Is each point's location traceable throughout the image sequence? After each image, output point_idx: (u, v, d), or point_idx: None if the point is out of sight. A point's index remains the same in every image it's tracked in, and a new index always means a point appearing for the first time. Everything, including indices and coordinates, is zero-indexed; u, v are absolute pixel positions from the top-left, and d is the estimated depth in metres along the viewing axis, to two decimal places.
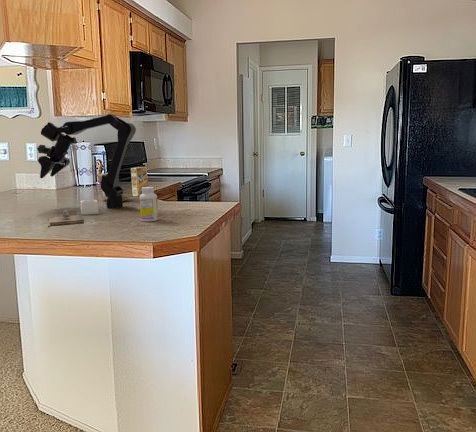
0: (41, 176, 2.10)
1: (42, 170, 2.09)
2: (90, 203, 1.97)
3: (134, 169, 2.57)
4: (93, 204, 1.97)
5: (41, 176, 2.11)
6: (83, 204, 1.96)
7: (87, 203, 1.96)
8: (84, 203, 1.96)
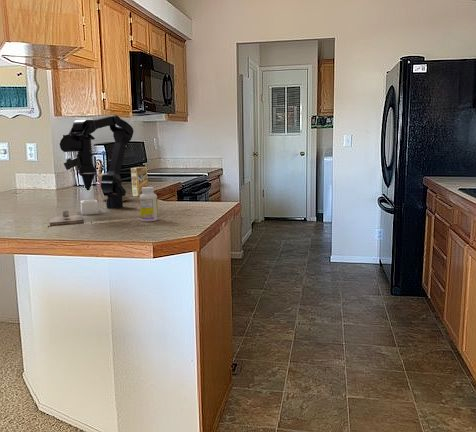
0: (88, 188, 1.94)
1: (86, 181, 1.92)
2: (90, 203, 1.97)
3: (134, 169, 2.57)
4: (93, 204, 1.97)
5: (88, 188, 1.94)
6: (83, 204, 1.96)
7: (87, 203, 1.96)
8: (84, 203, 1.96)
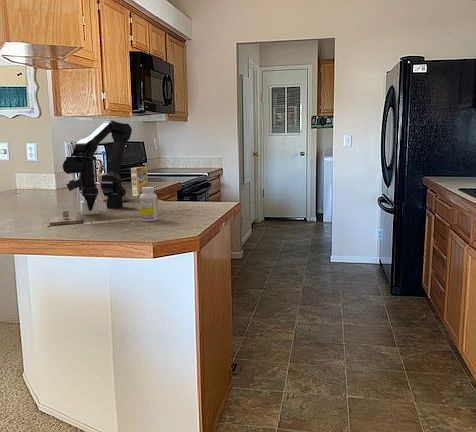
0: (90, 208, 1.96)
1: (88, 201, 1.95)
2: None
3: (134, 169, 2.57)
4: None
5: (90, 208, 1.96)
6: (83, 204, 1.96)
7: None
8: (84, 203, 1.96)
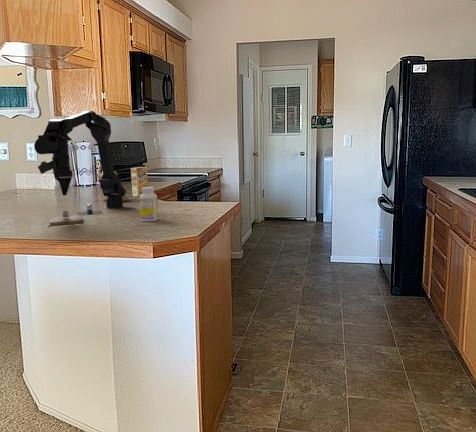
0: (64, 193, 1.79)
1: (62, 185, 1.78)
2: None
3: (134, 169, 2.57)
4: None
5: (64, 193, 1.80)
6: (56, 188, 1.79)
7: None
8: (57, 187, 1.79)
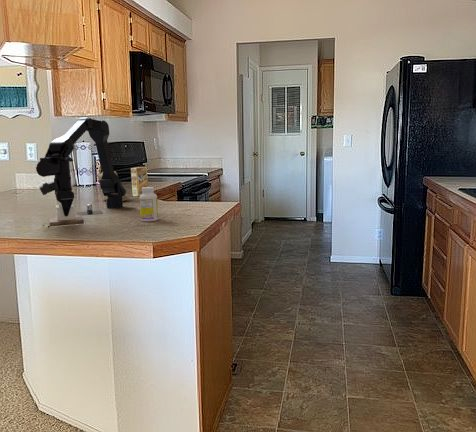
0: (66, 214, 1.81)
1: (64, 207, 1.79)
2: None
3: (134, 169, 2.57)
4: None
5: (66, 214, 1.81)
6: (58, 209, 1.80)
7: (62, 208, 1.80)
8: (59, 208, 1.80)
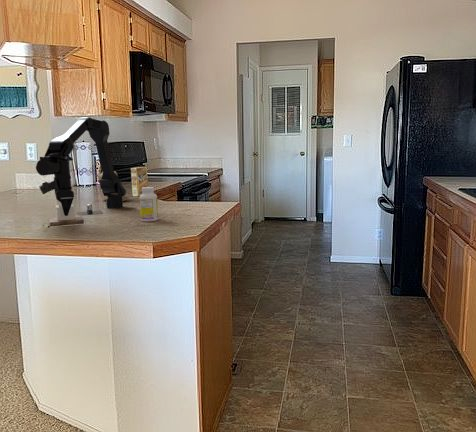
0: (66, 213, 1.79)
1: (64, 206, 1.78)
2: None
3: (134, 169, 2.57)
4: None
5: (66, 214, 1.80)
6: (58, 209, 1.80)
7: (62, 208, 1.80)
8: (59, 208, 1.80)
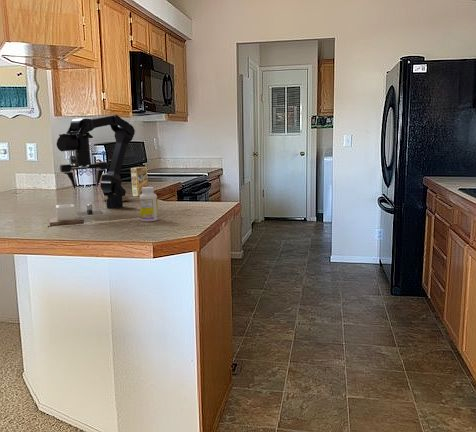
0: (73, 186, 1.97)
1: (70, 179, 1.97)
2: (66, 208, 1.81)
3: (134, 169, 2.57)
4: (69, 209, 1.81)
5: (73, 186, 1.97)
6: (58, 209, 1.80)
7: (62, 208, 1.80)
8: (59, 208, 1.80)
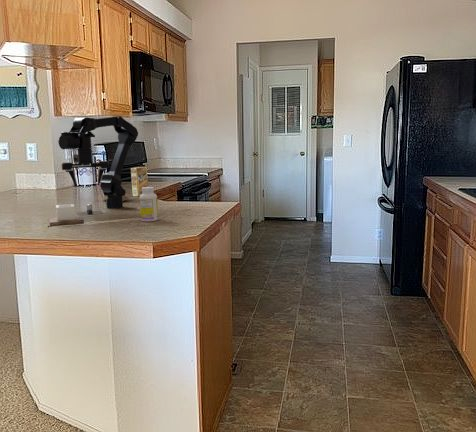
0: (74, 184, 1.99)
1: (71, 177, 1.99)
2: (66, 208, 1.81)
3: (134, 169, 2.57)
4: (69, 209, 1.81)
5: (75, 185, 1.99)
6: (58, 209, 1.80)
7: (62, 208, 1.80)
8: (59, 208, 1.80)
